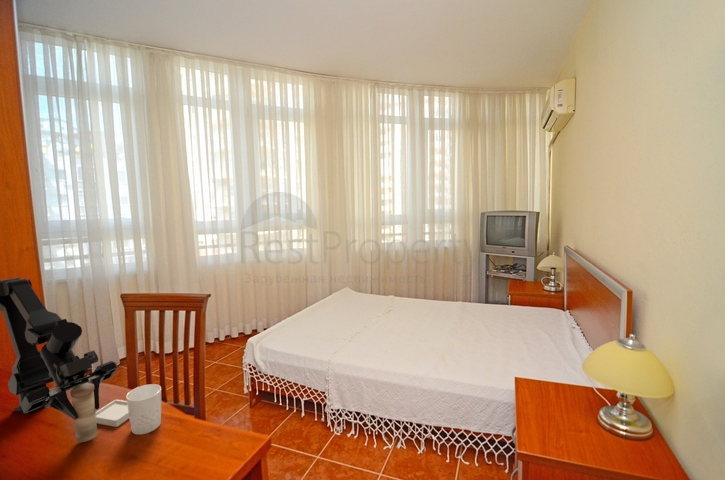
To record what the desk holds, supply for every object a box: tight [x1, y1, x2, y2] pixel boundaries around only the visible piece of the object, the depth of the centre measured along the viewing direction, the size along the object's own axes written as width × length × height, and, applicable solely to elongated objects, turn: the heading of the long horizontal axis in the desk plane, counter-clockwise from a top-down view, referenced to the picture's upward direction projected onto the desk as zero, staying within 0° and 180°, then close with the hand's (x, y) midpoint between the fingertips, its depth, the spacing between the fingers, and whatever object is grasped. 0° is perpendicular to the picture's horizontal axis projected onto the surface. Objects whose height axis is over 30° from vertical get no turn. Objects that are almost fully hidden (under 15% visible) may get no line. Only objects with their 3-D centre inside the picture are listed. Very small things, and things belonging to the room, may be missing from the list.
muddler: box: [69, 383, 98, 443], centre depth 86 cm, size 5×5×13 cm
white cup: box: [125, 383, 162, 436], centre depth 92 cm, size 8×8×10 cm
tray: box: [95, 398, 130, 428], centre depth 97 cm, size 9×8×2 cm
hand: (87, 413), depth 85 cm, fingers closed on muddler, 4 cm apart
